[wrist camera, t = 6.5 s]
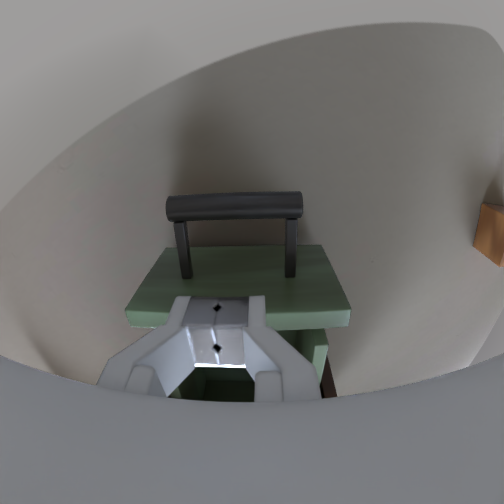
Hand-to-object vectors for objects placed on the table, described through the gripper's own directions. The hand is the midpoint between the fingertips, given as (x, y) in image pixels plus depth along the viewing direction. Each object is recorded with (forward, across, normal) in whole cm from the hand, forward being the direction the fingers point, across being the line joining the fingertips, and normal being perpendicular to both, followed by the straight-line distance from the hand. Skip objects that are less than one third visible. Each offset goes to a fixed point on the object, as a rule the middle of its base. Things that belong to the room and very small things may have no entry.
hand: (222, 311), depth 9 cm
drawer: (+11, 0, +7) cm, 13 cm away
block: (+12, -25, +1) cm, 27 cm away
